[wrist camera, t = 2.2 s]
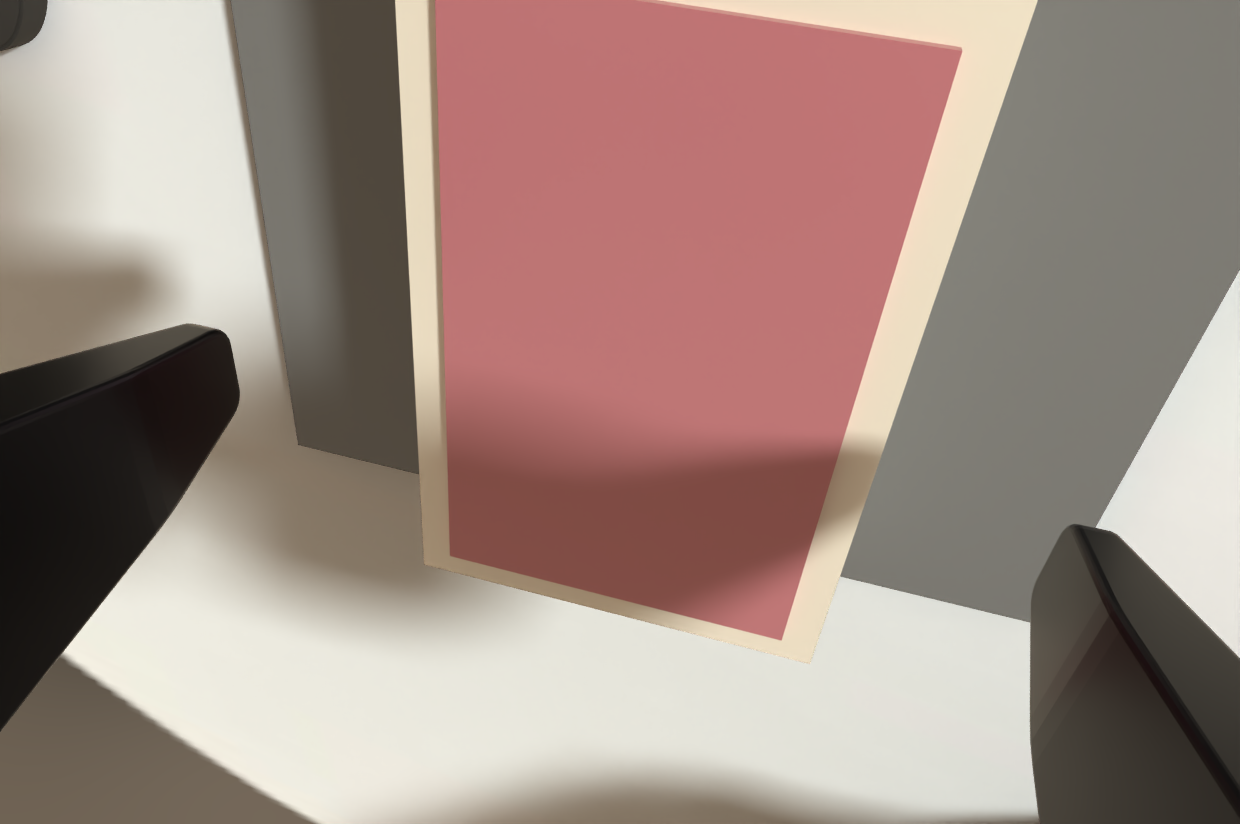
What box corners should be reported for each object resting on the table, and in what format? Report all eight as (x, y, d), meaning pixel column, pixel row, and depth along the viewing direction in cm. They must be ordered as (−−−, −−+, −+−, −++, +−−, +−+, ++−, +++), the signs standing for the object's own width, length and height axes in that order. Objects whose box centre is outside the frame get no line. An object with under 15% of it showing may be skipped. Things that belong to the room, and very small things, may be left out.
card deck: (822, 528, 15) (808, 672, 13) (492, 450, 16) (420, 571, 14) (1004, -53, 10) (1041, -2, 8) (499, -122, 11) (383, -97, 8)
